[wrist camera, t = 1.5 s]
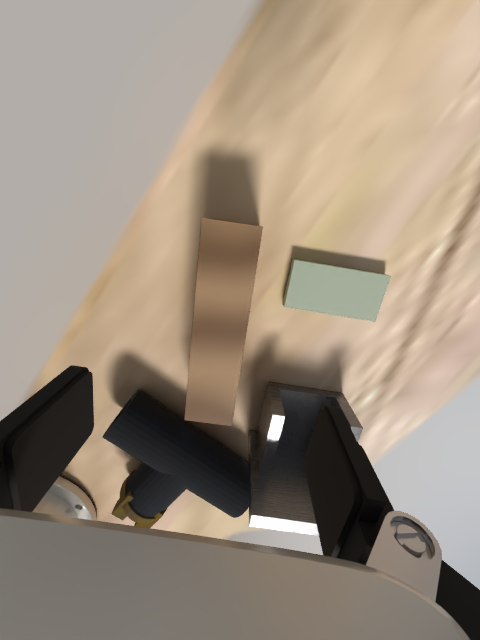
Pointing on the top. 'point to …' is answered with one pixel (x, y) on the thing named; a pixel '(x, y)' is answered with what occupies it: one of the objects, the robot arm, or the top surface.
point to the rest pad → (335, 290)
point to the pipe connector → (173, 464)
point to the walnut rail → (220, 318)
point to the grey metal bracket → (287, 456)
